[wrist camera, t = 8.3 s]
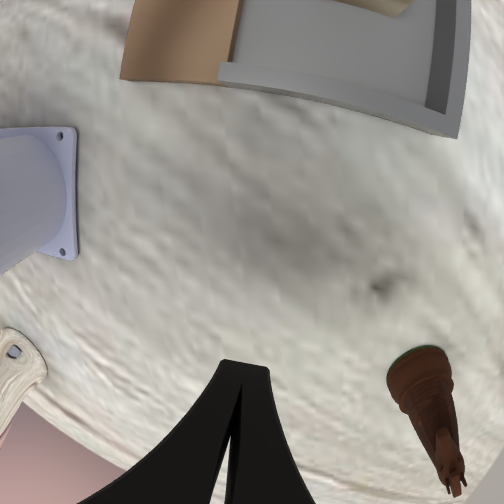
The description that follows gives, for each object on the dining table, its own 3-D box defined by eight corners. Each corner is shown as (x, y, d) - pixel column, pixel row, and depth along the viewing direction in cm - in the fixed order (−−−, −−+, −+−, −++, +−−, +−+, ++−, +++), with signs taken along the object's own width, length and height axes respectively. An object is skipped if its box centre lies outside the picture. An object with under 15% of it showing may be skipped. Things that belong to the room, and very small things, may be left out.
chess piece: (441, 334, 17) (501, 459, 8) (450, 379, 19) (493, 488, 10) (378, 363, 19) (410, 500, 9) (395, 404, 20) (421, 520, 11)
